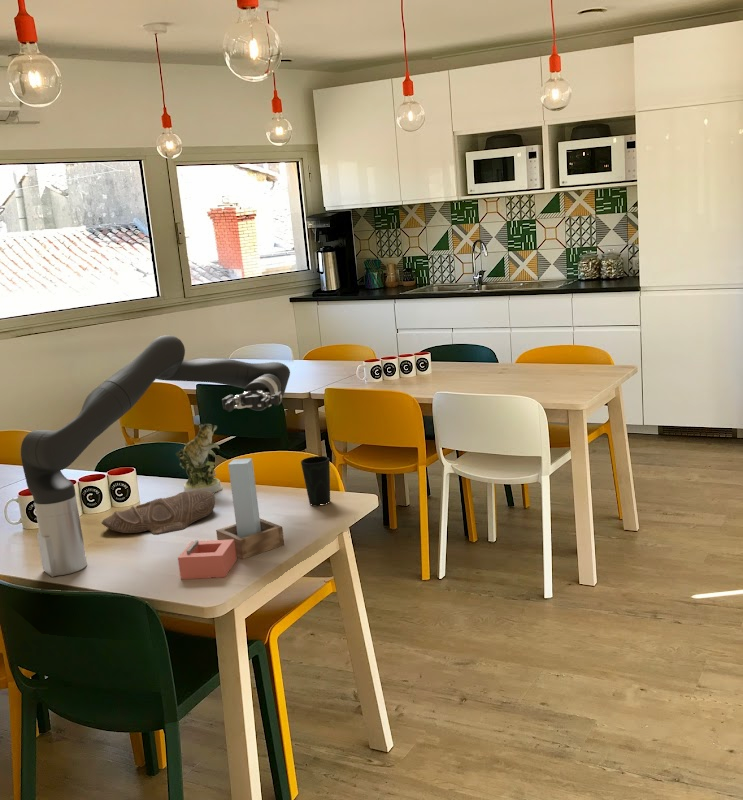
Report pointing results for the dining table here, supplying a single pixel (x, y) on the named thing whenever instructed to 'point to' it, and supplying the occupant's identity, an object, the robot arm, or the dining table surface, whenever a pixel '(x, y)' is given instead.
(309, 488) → the cup
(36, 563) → the dining table surface
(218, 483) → the figurine
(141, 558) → the dining table surface
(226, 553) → the pink square holder
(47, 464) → the robot arm
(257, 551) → the tray
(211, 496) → the decorative mask
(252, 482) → the pale blue tall pillar
